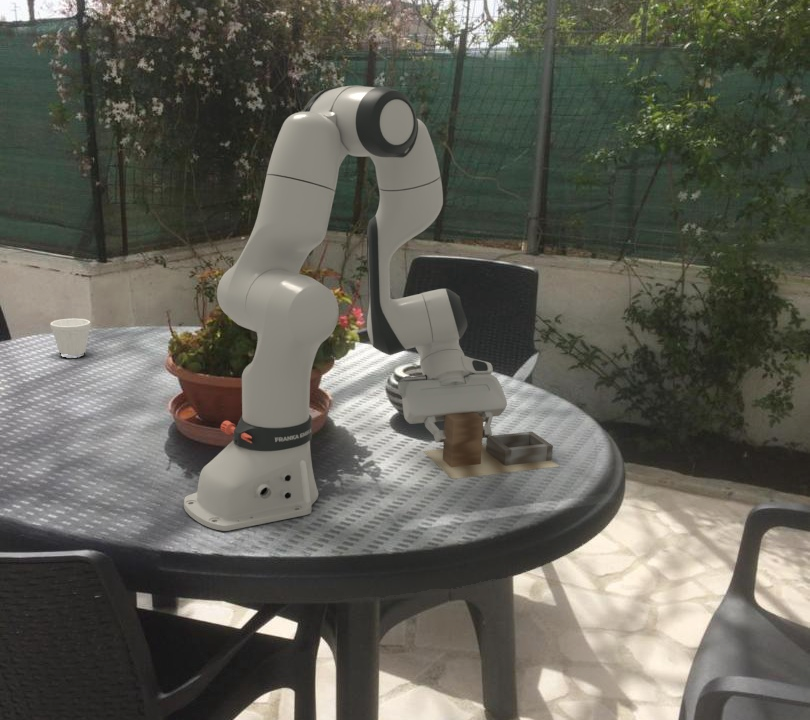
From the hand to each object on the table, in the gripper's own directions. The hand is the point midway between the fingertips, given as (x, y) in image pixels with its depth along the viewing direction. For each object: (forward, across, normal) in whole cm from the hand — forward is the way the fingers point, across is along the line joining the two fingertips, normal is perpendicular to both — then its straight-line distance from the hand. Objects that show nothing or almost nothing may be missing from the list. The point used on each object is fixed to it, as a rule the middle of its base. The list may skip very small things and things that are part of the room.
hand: (464, 438), depth 155 cm
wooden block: (+3, 0, +4) cm, 5 cm away
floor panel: (+4, +6, +5) cm, 9 cm away
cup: (-67, -69, +76) cm, 123 cm away
